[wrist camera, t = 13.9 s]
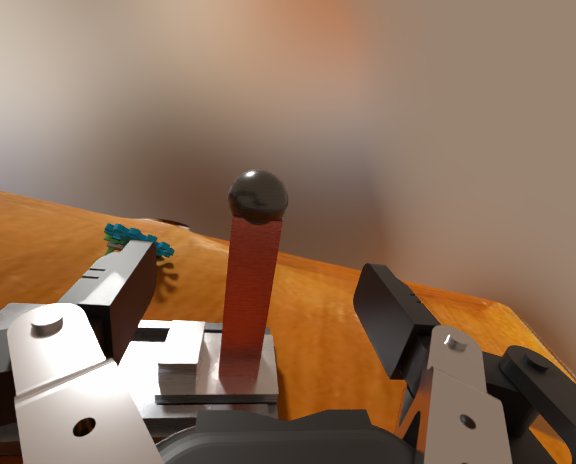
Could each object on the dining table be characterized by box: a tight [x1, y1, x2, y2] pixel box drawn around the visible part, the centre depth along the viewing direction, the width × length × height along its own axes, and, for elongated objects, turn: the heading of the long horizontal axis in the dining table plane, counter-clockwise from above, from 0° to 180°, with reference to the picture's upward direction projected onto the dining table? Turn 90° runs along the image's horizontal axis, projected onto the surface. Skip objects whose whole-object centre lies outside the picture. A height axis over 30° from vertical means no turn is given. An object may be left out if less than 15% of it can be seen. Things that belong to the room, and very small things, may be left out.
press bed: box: [0, 303, 278, 456], centre depth 25 cm, size 28×12×5 cm, turn 98°
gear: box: [104, 223, 174, 258], centre depth 43 cm, size 11×6×10 cm
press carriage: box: [155, 169, 288, 403], centre depth 24 cm, size 10×7×19 cm
